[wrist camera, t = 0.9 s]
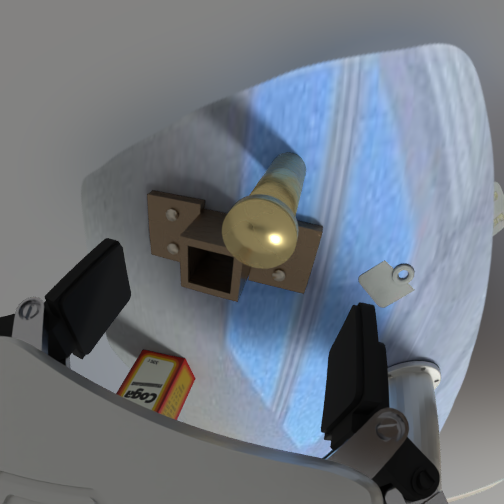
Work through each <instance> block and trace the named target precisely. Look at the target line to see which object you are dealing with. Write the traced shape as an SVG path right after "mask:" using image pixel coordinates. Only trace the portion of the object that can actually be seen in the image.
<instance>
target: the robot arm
mask: <svg viewBox="0 0 504 504" xmlns="http://www.w3.org/2000/svg"><path fill="white" fill-rule="evenodd" d="M130 297H131V291H130V286H129V281H128V275H127V270H126V264H125V259H124V253H123V247H122V246H121V245H120V243H119V241H116V240H112V239H109V238H106V239H104V240H103V241H102V242H101V243H100V244H99V245H98V246H96V247H95V248H94V249H93V250H92V251H91V252H90V253H89V254H88V255H87V256H85V257H84V258H83V259H82V260H81V261H80V262H79V263H78V264H77V265H76V266H75V267H74V268H73V269H72V270H71V271H69V272H68V273H67V274H66V275H65V276H64V277H63V278H62V279H61V280H60V281H59V282H58V283H57V284H56V286H54V287H53V288H52V289H51V290H50V291H49V292H48V293H47V294H46V295H45V299H46V301H45V302H43V301H42V300H41V299H40V298H37V297H30V298H27V299H25V300H23V301H22V302H21V303H20V304H19V306H18V307H17V309H16V312H15V314H12V315H8V316H4V317H0V504H448V502H447V500H446V498H445V496H444V493H443V491H442V490H441V456H440V437H439V425H438V415H437V407H436V399H435V392H434V390H435V388H436V387H437V386H438V385H439V383H440V381H441V373H440V369H439V368H438V366H436V365H435V364H433V363H430V362H426V361H410V362H405V363H400V364H397V365H394V366H392V367H389V368H387V357H386V348H385V345H384V343H382V342H378V331H377V322H376V313H375V307H374V305H370V304H366V303H361V302H359V303H358V305H357V306H356V305H353V306H352V308H351V310H350V312H349V314H348V316H347V318H346V320H345V322H344V324H343V326H342V328H341V330H340V332H339V334H338V336H337V338H336V340H335V342H334V343H333V345H332V347H331V349H330V352H329V357H328V369H327V380H326V391H325V400H324V409H323V417H322V424H321V432H323V433H325V436H324V440H331V446H330V447H331V448H332V450H331V451H330V452H329V453H328V454H326V455H325V456H324V457H323V458H318V457H313V456H308V455H303V454H298V453H293V452H288V451H283V450H278V449H273V448H269V447H265V446H260V445H256V444H252V443H248V442H244V441H240V440H237V439H233V438H229V437H226V436H222V435H219V434H216V433H213V432H209V431H206V430H203V429H200V428H197V427H194V426H191V425H189V424H186V423H183V422H180V421H178V420H175V419H172V418H170V417H167V416H165V415H162V414H160V413H157V412H155V411H152V410H150V409H148V408H145V407H143V406H141V405H139V404H136V403H134V402H132V401H130V400H128V399H126V398H123V397H121V396H119V395H117V394H115V393H113V392H111V391H109V390H107V389H105V388H103V387H102V386H100V385H98V384H96V383H94V382H92V381H90V380H89V379H87V378H85V377H83V376H81V375H80V374H78V373H76V372H75V371H73V370H71V368H70V355H71V353H73V354H74V355H75V356H77V357H79V358H80V359H83V358H84V356H85V355H87V354H89V353H90V352H91V351H92V349H93V348H94V347H95V345H96V344H97V342H98V341H99V340H100V338H101V337H102V336H103V334H104V333H105V331H106V330H107V329H108V327H109V326H110V325H111V323H112V322H113V321H114V319H115V318H116V317H117V316H118V314H119V313H120V312H121V310H122V309H123V308H124V306H125V305H126V304H127V303H128V301H129V300H130Z"/></svg>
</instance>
